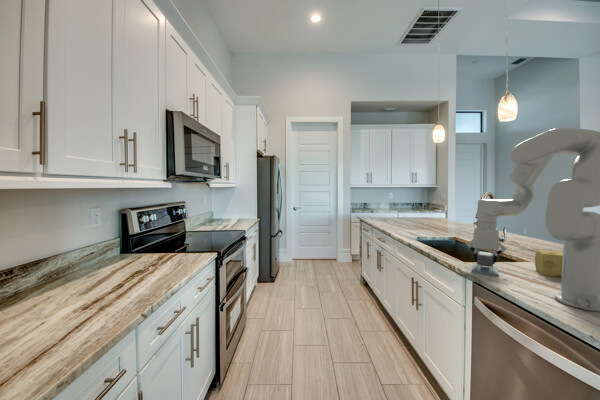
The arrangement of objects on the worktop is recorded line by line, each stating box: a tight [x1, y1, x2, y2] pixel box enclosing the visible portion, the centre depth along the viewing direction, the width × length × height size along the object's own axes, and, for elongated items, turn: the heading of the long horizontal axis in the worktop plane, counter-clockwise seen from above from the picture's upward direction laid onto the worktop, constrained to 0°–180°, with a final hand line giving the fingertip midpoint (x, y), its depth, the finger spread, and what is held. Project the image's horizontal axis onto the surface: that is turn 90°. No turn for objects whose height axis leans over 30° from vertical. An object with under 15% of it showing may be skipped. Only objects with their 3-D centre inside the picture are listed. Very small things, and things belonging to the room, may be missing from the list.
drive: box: [476, 250, 494, 267], centre depth 123 cm, size 10×6×5 cm, turn 143°
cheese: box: [534, 249, 563, 278], centre depth 118 cm, size 10×11×10 cm
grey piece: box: [471, 262, 500, 277], centre depth 123 cm, size 14×10×4 cm
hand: (485, 261), depth 123 cm, fingers closed on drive, 6 cm apart
